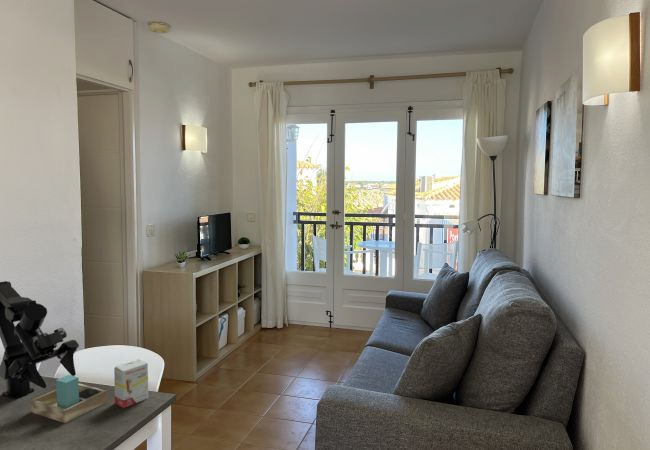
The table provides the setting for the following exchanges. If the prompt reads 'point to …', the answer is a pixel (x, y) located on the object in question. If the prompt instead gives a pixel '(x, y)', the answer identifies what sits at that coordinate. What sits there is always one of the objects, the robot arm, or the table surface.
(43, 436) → the table surface
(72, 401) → the plug
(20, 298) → the robot arm
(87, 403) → the walled box
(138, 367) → the ink box
